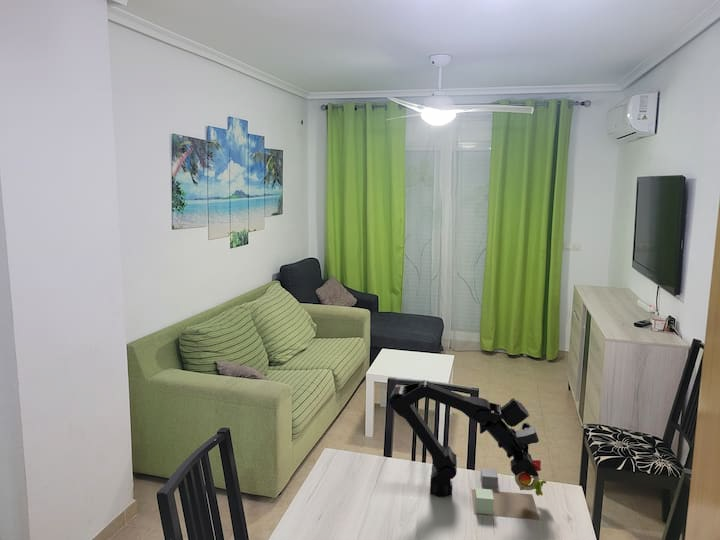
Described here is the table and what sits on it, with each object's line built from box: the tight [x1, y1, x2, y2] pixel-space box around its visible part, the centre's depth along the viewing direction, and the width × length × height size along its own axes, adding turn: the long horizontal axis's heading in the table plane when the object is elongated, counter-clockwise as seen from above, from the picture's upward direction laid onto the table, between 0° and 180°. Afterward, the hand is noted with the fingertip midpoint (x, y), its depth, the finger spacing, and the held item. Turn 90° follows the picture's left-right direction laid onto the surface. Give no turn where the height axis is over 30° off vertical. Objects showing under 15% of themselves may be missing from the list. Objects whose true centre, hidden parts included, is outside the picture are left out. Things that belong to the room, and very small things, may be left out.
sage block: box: [475, 487, 494, 515], centre depth 165 cm, size 5×5×5 cm
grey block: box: [480, 467, 499, 488], centre depth 180 cm, size 5×5×5 cm
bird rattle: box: [514, 459, 547, 497], centre depth 167 cm, size 6×11×9 cm
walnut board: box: [471, 488, 541, 521], centre depth 168 cm, size 19×13×2 cm
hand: (536, 472), depth 167 cm, fingers closed on bird rattle, 4 cm apart
